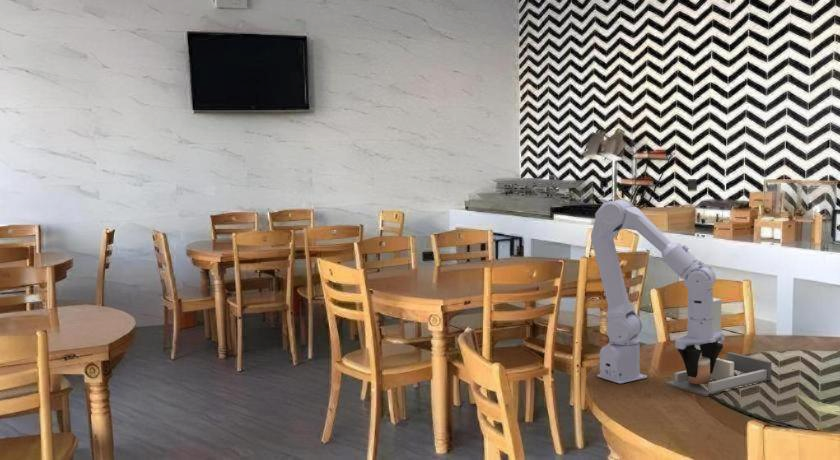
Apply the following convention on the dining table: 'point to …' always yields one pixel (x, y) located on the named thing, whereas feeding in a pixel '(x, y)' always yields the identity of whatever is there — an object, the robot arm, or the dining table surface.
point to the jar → (702, 372)
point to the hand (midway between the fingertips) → (699, 374)
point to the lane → (750, 374)
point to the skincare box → (715, 318)
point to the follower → (722, 369)
